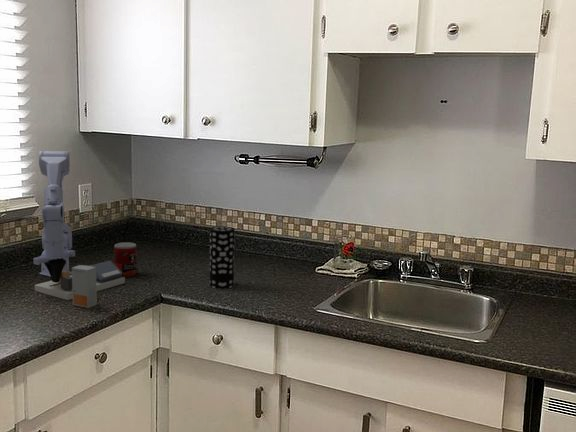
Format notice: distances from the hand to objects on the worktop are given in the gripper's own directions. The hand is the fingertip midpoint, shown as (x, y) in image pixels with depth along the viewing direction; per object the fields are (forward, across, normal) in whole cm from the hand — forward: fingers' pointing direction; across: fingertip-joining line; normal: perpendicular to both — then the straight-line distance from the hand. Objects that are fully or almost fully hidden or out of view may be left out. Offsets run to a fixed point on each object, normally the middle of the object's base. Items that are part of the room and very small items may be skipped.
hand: (55, 281), depth 202 cm
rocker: (-2, +15, -6) cm, 17 cm away
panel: (+3, +8, -3) cm, 9 cm away
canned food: (+3, +28, -3) cm, 28 cm away
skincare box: (+3, -4, -19) cm, 20 cm away
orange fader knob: (+1, +3, 0) cm, 3 cm away
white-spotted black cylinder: (+3, +38, -39) cm, 54 cm away
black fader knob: (+1, -1, -8) cm, 8 cm away
